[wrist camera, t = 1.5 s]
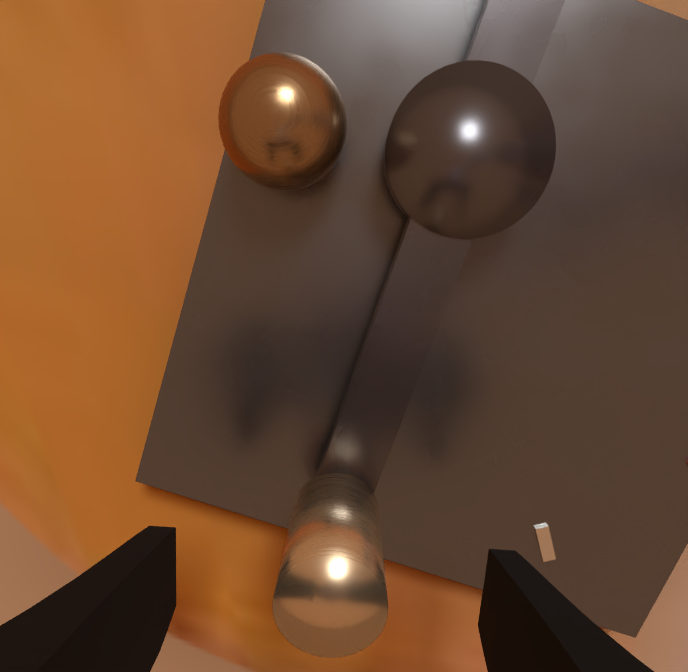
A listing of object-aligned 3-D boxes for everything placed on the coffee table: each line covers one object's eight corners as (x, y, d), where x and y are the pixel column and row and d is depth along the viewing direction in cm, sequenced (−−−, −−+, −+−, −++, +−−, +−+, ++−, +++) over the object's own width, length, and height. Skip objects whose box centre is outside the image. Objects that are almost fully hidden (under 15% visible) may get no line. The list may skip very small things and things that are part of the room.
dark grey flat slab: (877, 121, 14) (1098, 75, 10) (616, 610, 17) (697, 727, 13) (305, -96, 13) (282, -246, 9) (150, 463, 17) (83, 540, 12)
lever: (458, -77, 11) (521, -266, 7) (616, -17, 12) (774, -164, 7) (260, 510, 15) (221, 627, 10) (387, 549, 15) (401, 681, 11)
